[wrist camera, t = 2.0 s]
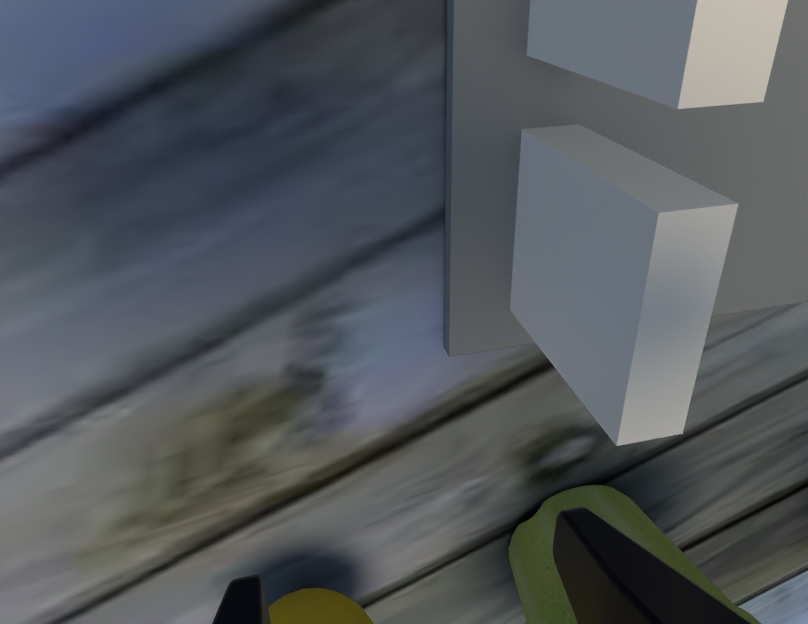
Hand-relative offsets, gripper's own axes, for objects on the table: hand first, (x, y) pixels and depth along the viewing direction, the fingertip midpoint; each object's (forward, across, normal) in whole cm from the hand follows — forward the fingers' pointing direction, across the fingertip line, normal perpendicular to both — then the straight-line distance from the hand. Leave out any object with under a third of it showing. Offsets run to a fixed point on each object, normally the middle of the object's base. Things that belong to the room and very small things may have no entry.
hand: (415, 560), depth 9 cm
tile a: (+11, -7, 0) cm, 13 cm away
